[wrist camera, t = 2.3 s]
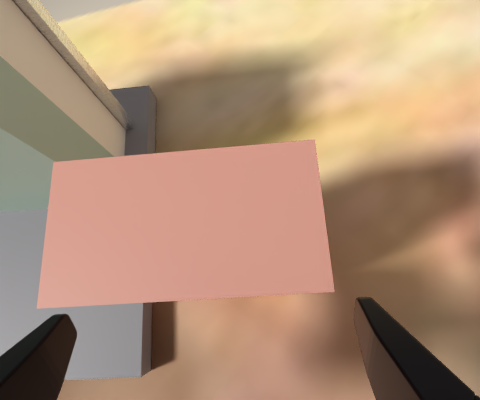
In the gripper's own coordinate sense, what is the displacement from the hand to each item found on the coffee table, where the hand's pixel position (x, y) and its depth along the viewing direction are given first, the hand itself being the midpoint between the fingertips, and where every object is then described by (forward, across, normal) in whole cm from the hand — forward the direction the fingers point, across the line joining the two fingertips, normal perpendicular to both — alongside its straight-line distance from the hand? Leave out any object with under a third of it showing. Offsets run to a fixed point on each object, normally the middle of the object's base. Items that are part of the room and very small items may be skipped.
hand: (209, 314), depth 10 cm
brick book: (+8, 0, +5) cm, 10 cm away
